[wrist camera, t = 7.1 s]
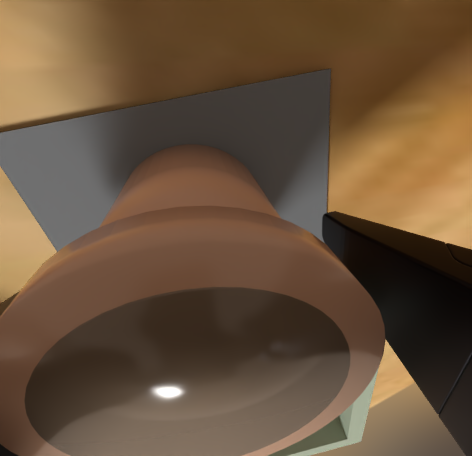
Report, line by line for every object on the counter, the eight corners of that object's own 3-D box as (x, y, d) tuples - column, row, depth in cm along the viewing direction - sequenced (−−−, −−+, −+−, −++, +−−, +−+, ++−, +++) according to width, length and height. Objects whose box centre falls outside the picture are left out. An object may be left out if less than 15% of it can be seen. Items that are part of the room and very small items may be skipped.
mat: (328, 69, 9) (330, 68, 9) (323, 261, 14) (325, 264, 14) (-15, 135, 9) (-20, 136, 8) (101, 313, 13) (100, 316, 13)
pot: (265, 113, 9) (429, 188, 3) (278, 260, 13) (364, 432, 7) (72, 151, 9) (-204, 329, 3) (142, 291, 13) (97, 507, 6)
